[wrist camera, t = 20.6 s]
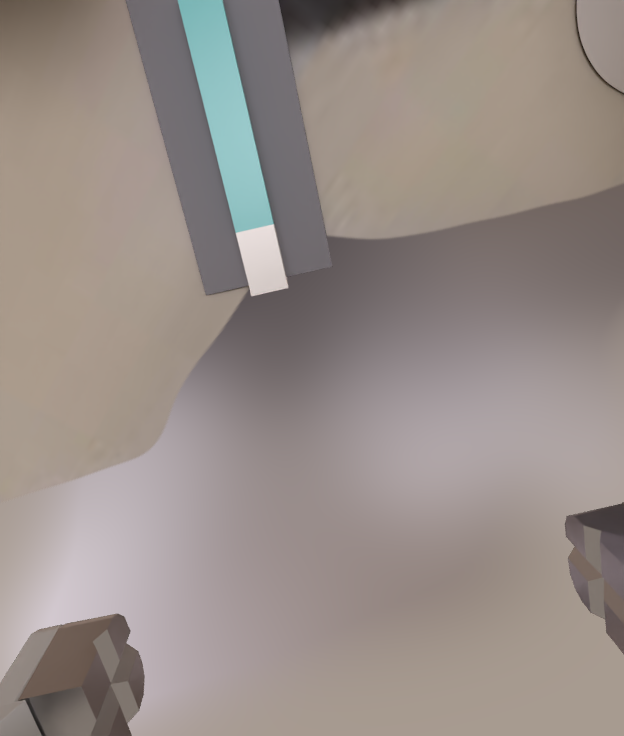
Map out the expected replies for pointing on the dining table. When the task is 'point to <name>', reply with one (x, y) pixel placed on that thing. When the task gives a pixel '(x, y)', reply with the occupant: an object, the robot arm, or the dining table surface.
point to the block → (234, 142)
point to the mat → (270, 127)
